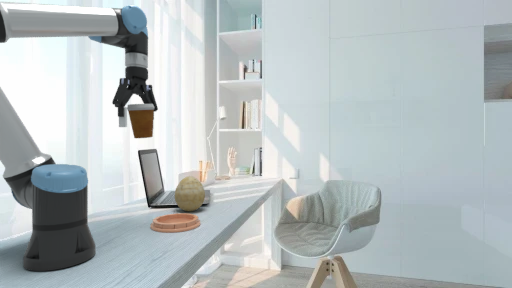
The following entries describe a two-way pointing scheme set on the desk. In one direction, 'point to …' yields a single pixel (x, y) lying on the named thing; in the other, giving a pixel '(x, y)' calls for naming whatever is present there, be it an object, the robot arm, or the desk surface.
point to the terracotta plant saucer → (175, 223)
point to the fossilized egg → (189, 194)
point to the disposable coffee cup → (141, 119)
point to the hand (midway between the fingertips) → (137, 128)
